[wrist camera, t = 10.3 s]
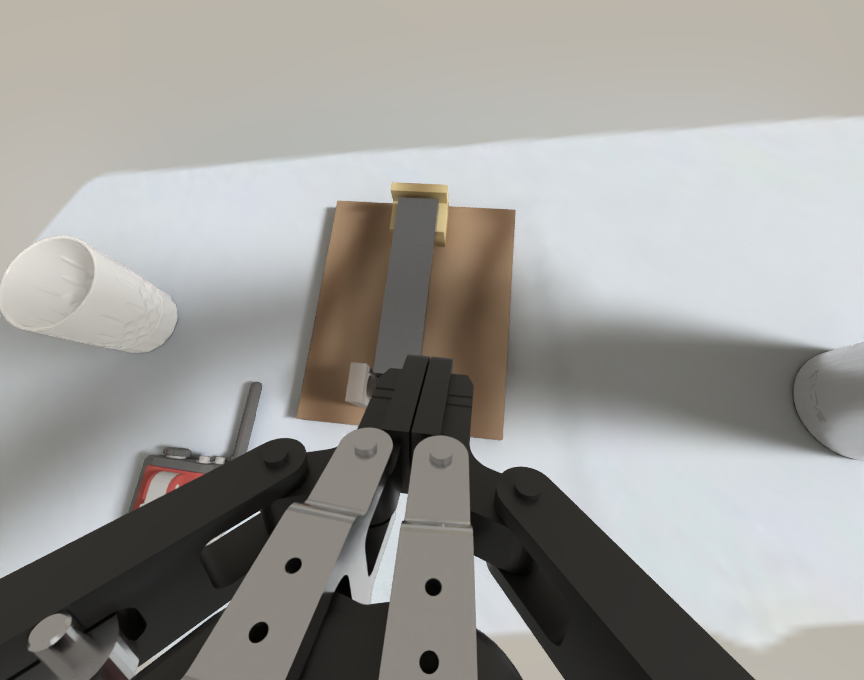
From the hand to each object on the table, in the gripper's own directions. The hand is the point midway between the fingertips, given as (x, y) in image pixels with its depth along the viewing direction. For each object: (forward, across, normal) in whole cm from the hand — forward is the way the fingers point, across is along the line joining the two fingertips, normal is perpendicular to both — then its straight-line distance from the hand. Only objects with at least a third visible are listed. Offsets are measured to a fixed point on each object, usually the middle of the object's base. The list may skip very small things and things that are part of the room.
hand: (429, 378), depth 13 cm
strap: (+20, +5, +7) cm, 22 cm away
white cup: (+21, +32, +12) cm, 40 cm away
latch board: (+23, +5, +9) cm, 25 cm away
